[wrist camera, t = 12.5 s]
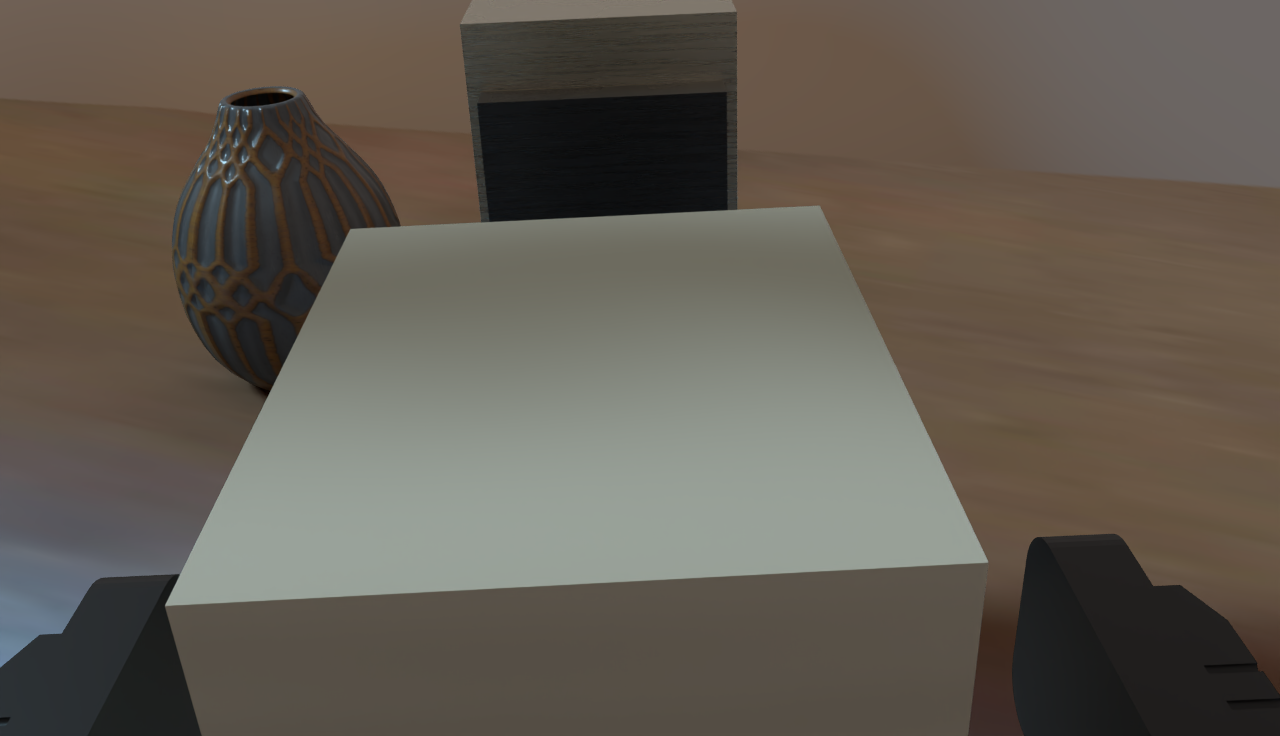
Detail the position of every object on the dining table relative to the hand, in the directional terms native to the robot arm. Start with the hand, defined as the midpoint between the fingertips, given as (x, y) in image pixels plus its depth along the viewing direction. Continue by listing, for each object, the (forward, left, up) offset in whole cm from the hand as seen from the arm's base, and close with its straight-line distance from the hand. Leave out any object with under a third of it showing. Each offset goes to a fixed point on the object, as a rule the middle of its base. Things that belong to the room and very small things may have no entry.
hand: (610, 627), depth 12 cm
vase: (+9, +26, -10) cm, 29 cm away
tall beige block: (-1, -1, -8) cm, 8 cm away
